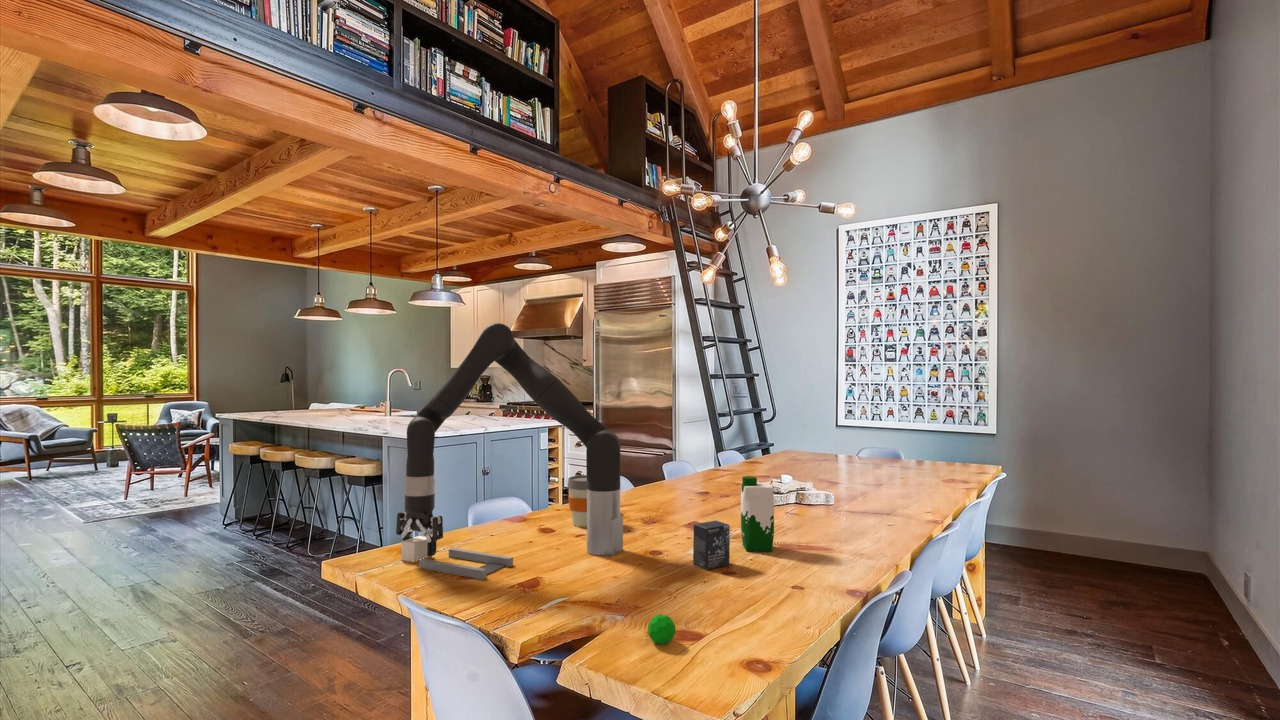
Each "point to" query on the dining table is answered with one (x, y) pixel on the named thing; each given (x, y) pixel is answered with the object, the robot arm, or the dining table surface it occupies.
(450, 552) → the channel
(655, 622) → the polyhedron
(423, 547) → the block
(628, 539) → the dining table surface
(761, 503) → the milk carton
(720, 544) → the box
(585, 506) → the reusable coffee cup
